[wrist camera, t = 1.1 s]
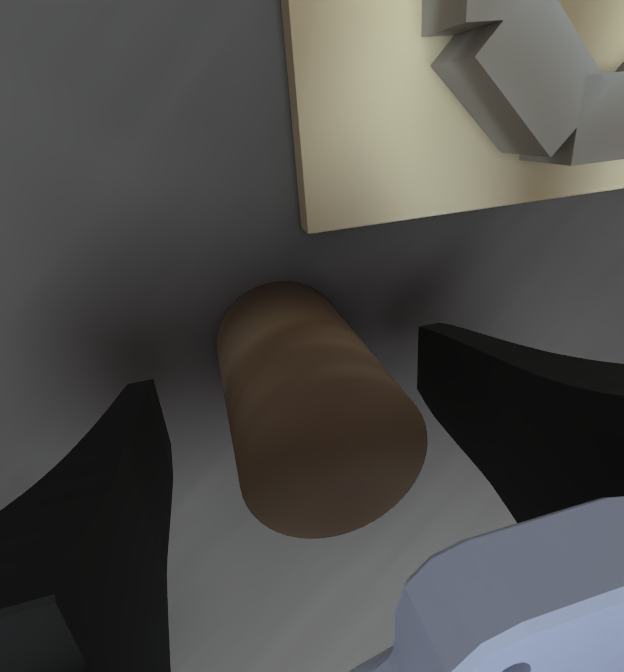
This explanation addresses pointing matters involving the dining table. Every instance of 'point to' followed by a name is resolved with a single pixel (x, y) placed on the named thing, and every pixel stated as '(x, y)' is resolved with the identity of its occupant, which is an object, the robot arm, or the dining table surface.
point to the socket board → (451, 105)
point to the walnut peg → (313, 415)
